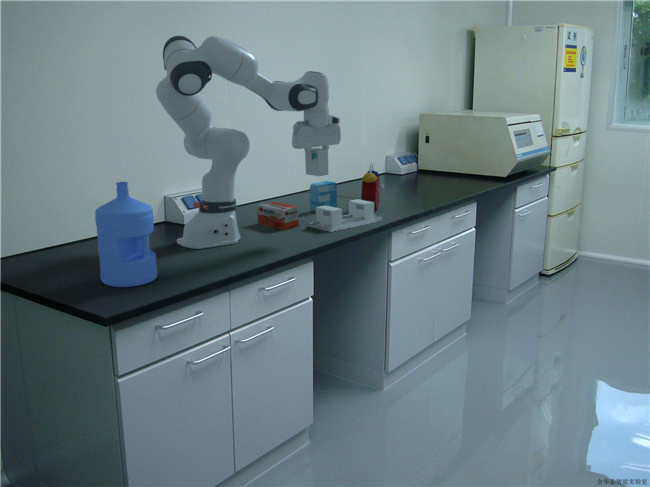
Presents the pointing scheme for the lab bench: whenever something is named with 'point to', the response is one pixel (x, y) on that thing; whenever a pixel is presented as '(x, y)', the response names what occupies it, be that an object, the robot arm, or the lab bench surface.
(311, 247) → the lab bench surface
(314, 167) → the block
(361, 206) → the block
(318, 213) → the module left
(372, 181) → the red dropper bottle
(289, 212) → the medicine box
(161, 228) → the lab bench surface
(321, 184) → the blue printed box
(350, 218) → the din rail
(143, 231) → the water jug
